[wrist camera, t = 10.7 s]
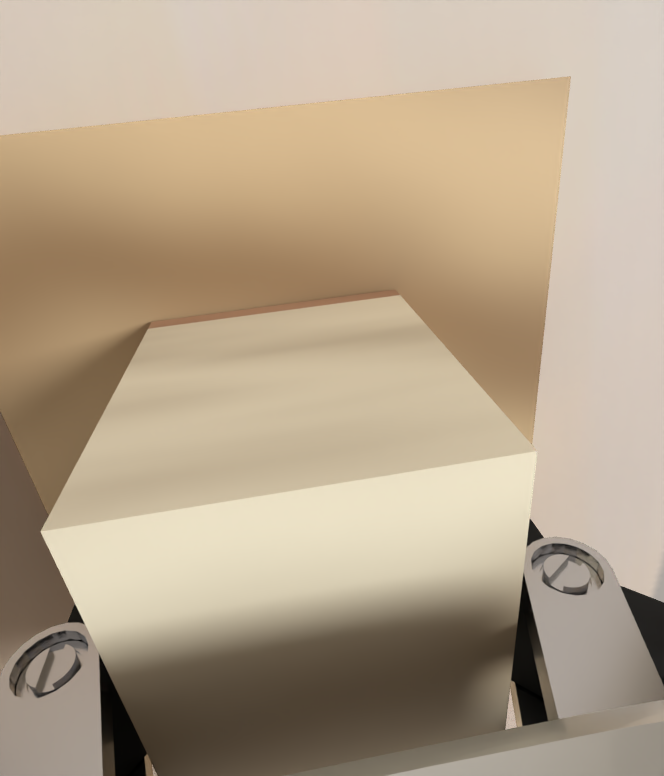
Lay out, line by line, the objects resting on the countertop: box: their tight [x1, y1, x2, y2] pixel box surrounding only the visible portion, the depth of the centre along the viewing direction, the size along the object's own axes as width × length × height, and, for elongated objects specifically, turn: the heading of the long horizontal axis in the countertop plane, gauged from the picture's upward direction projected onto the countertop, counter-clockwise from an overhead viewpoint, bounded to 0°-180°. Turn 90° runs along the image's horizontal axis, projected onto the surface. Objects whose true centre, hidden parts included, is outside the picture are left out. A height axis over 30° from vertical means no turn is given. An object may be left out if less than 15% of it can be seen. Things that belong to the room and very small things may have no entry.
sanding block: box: [41, 290, 537, 776], centre depth 10 cm, size 8×5×6 cm, turn 5°
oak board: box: [0, 76, 571, 516], centre depth 14 cm, size 22×12×1 cm, turn 5°
